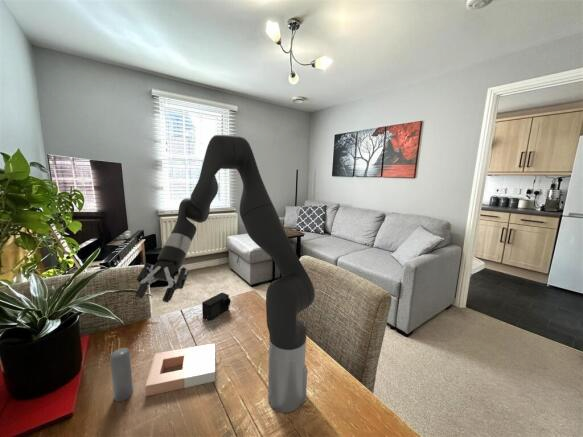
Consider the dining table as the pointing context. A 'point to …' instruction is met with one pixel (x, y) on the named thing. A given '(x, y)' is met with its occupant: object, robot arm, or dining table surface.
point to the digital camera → (215, 306)
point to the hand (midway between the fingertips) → (151, 299)
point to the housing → (194, 370)
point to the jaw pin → (121, 374)
